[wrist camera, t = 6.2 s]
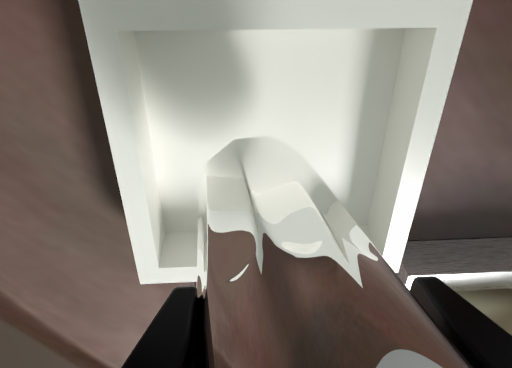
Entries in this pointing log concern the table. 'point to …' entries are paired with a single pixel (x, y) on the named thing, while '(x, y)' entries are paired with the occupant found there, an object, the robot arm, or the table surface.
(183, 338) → the robot arm
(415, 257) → the slide rails
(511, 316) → the slider
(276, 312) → the milkshake
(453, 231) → the table surface
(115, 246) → the table surface
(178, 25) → the tray
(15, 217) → the table surface
